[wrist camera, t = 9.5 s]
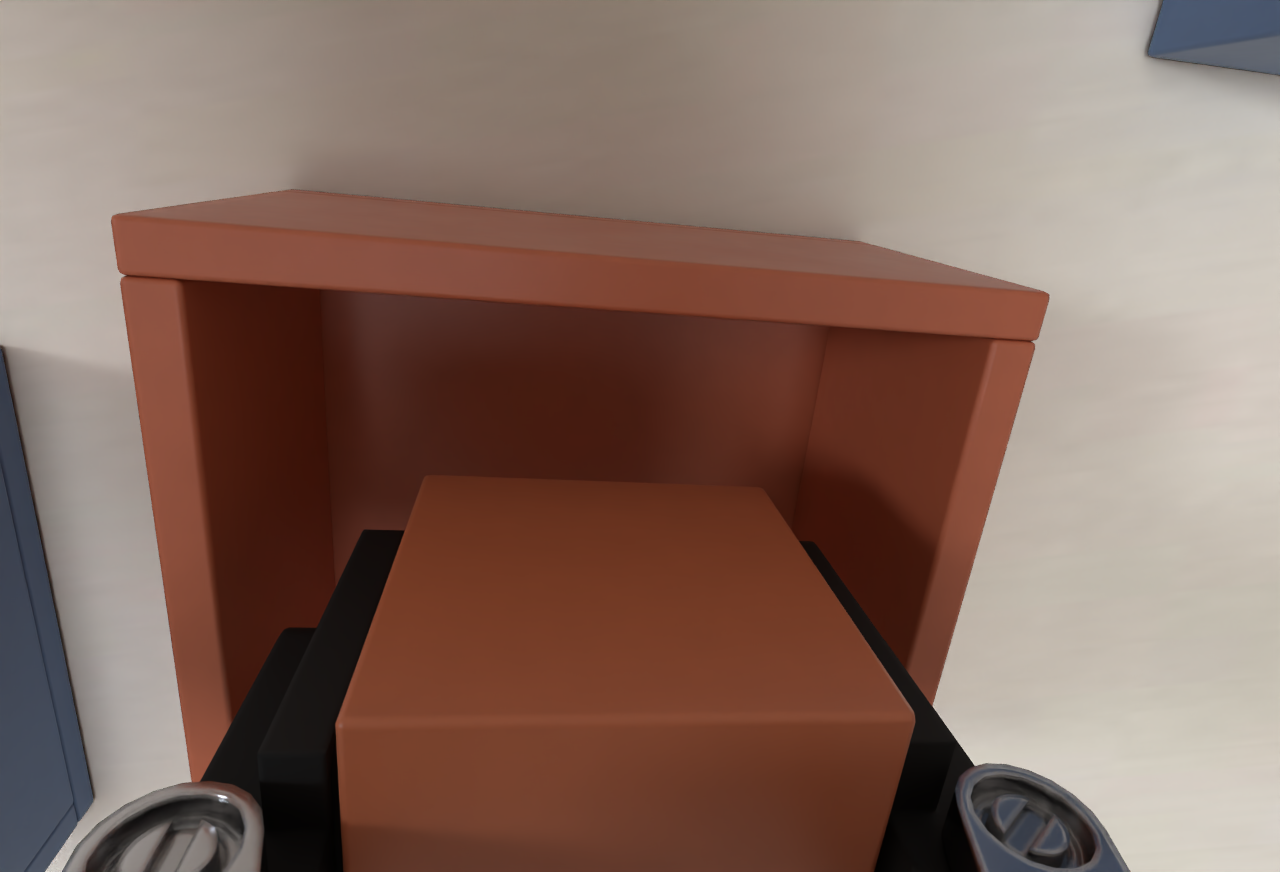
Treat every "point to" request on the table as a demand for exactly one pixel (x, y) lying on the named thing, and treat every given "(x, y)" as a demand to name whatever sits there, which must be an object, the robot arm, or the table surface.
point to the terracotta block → (613, 691)
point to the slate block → (1220, 33)
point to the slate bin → (32, 682)
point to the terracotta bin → (545, 397)
